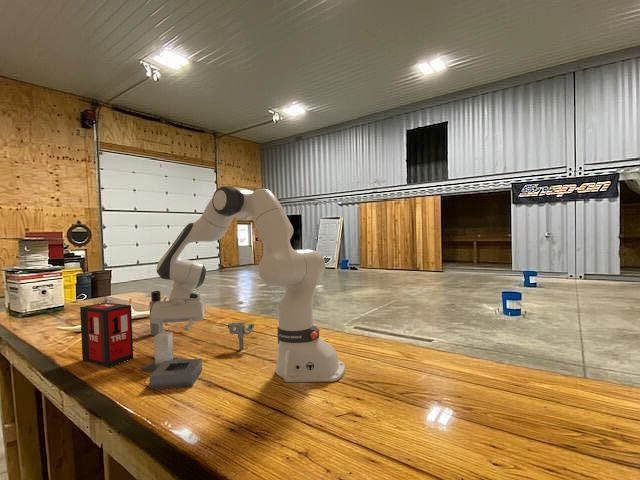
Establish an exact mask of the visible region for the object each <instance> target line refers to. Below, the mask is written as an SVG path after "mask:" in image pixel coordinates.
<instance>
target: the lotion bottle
mask: <svg viewBox="0 0 640 480" xmlns="http://www.w3.org/2000/svg"><path fill="white" fill-rule="evenodd" d="M150 295H151V296H150V297H151V298H150V299H151V301H150V302H149V304H148V305H149V314H150V313H151V311H152V307H153V304H155V303H157V302H158V301H163V300H162V299H161V291H160V290H154V291H151V292H150ZM149 324H150V325H149V326H150V335H151V336H156V335H157V334H158V333H159V325H158V323H155V324H153V323H152V322H151V321H150V320H149ZM161 326H163V327H164V328H165V323H163V325H161ZM161 333H165V331H164V332H161Z"/></svg>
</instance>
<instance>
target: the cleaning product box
mask: <svg viewBox="0 0 640 480" xmlns="http://www.w3.org/2000/svg"><path fill="white" fill-rule="evenodd" d="M79 307H80V312H79V313H80V334H81V335H80V336H81V354H82V356H81V358H82V362H86V363H89V362H90V364H94V365H98V366H101V367H105V368H112V367H115V366H118V365H120V364H123V363H125V362H124V361H126V362H128V361H127V360H129V361H131V360H130V359H132V360H134V346H133V345H134V344H133V343H134V341H133V339H134V338H133V320H132V318H133V317H132V305H131V304H122V303H113V302H106V301H105V302H100V303H95V304H89V305H84V306H79ZM122 362H123V363H122ZM119 363H120V364H119ZM117 364H118V365H117Z"/></svg>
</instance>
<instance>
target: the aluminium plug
mask: <svg viewBox="0 0 640 480" xmlns="http://www.w3.org/2000/svg"><path fill="white" fill-rule="evenodd" d="M153 336H154V337H153V340H154V343H153V345H154V361H155V366H160V365H161V364H162V363H163V362H164V361H172V360H173V358H174V339H173V331H171V332H170V331H169V332H164V333H158V334H157V335H153Z"/></svg>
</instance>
